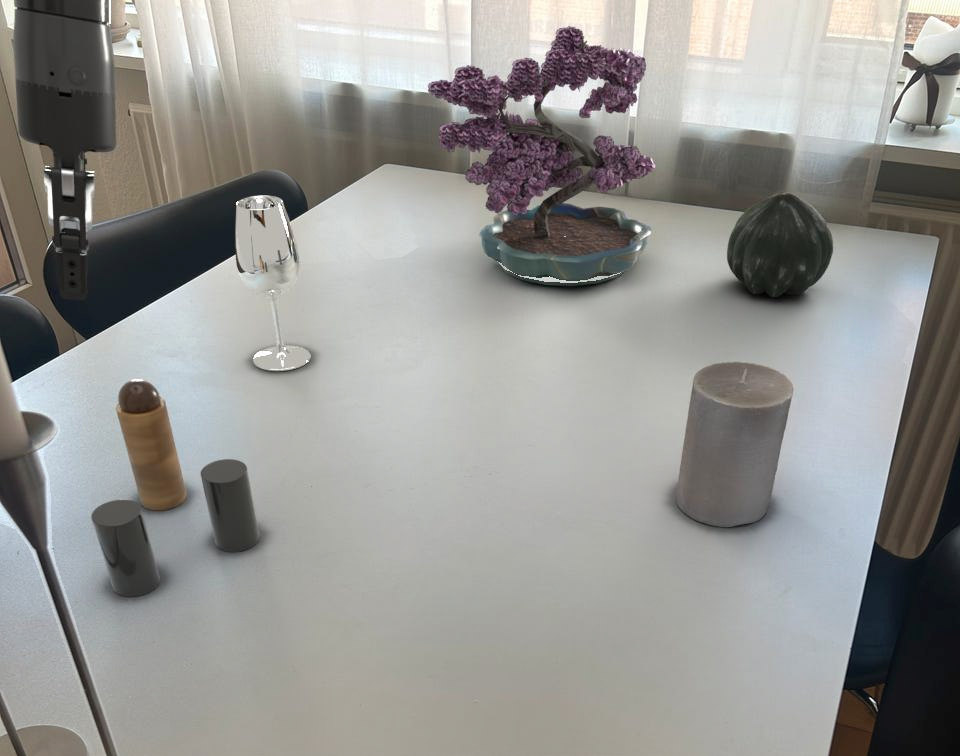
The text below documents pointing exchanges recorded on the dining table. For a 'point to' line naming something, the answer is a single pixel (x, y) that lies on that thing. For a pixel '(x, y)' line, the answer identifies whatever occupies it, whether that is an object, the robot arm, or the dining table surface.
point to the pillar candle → (732, 442)
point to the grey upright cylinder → (230, 505)
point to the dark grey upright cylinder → (126, 547)
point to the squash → (780, 246)
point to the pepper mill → (150, 445)
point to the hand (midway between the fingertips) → (74, 288)
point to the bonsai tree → (551, 163)
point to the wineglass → (268, 268)
